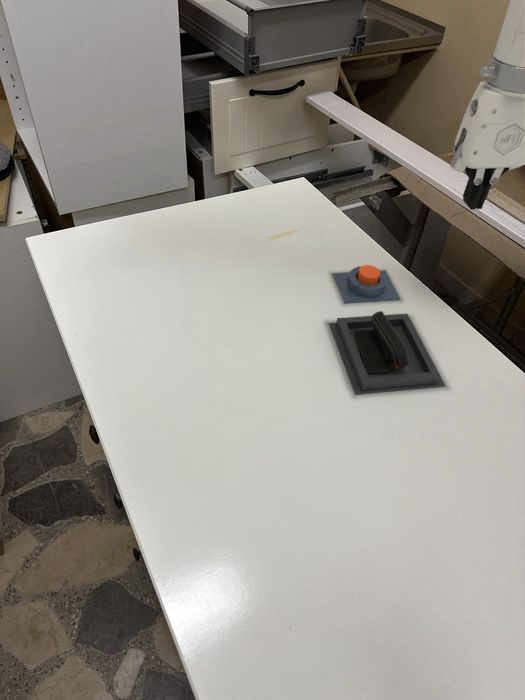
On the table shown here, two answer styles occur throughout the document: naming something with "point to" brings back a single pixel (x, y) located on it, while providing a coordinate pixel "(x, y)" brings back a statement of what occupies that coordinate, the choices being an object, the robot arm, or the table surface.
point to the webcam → (381, 346)
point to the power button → (368, 275)
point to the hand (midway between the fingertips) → (471, 204)
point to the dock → (408, 378)
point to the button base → (364, 288)
